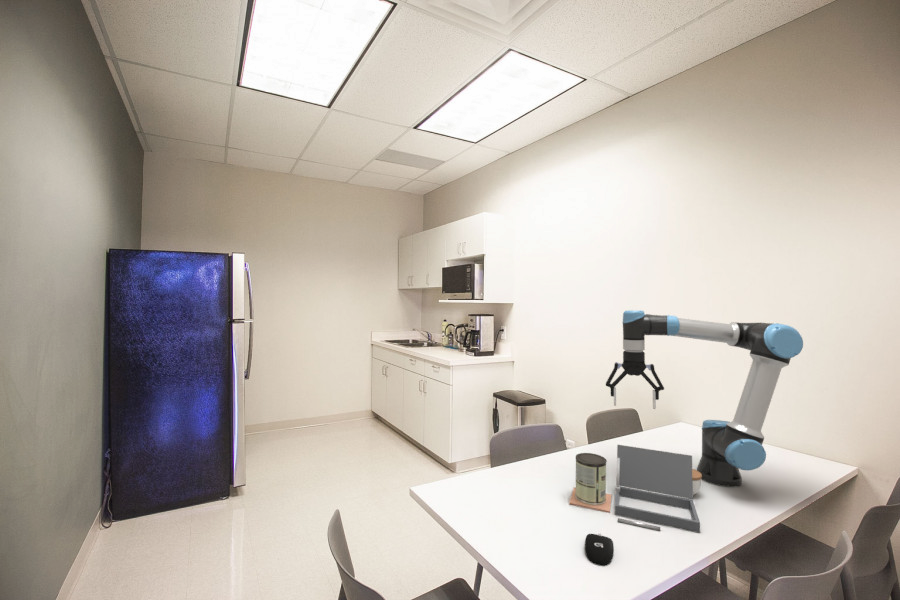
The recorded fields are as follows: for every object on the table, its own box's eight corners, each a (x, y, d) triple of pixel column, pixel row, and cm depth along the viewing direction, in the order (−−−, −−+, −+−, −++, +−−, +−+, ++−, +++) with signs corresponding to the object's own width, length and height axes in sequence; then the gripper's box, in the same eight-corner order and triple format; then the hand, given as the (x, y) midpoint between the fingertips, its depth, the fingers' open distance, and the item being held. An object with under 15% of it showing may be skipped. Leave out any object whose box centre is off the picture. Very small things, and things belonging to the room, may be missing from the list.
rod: (660, 529, 125) (660, 526, 125) (660, 531, 124) (660, 528, 124) (617, 520, 130) (617, 517, 130) (617, 522, 129) (617, 518, 129)
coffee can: (576, 489, 150) (577, 450, 150) (606, 495, 146) (607, 455, 146) (572, 501, 141) (573, 460, 141) (604, 508, 136) (605, 466, 136)
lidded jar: (697, 488, 154) (697, 463, 154) (705, 501, 144) (705, 475, 144) (665, 484, 157) (666, 459, 157) (670, 496, 147) (671, 470, 147)
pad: (611, 496, 146) (611, 494, 146) (609, 512, 134) (609, 511, 134) (574, 488, 152) (574, 487, 152) (569, 504, 140) (569, 502, 140)
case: (690, 503, 142) (691, 455, 142) (699, 532, 124) (700, 477, 124) (615, 489, 152) (616, 443, 152) (613, 514, 134) (614, 462, 134)
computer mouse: (583, 562, 109) (583, 547, 109) (586, 538, 120) (586, 525, 120) (613, 570, 106) (613, 554, 106) (613, 545, 117) (613, 531, 117)
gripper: (669, 351, 154) (670, 407, 154) (599, 348, 164) (599, 401, 163) (671, 353, 147) (672, 412, 147) (598, 350, 157) (599, 405, 156)
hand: (634, 406), depth 155 cm, fingers open, 13 cm apart
